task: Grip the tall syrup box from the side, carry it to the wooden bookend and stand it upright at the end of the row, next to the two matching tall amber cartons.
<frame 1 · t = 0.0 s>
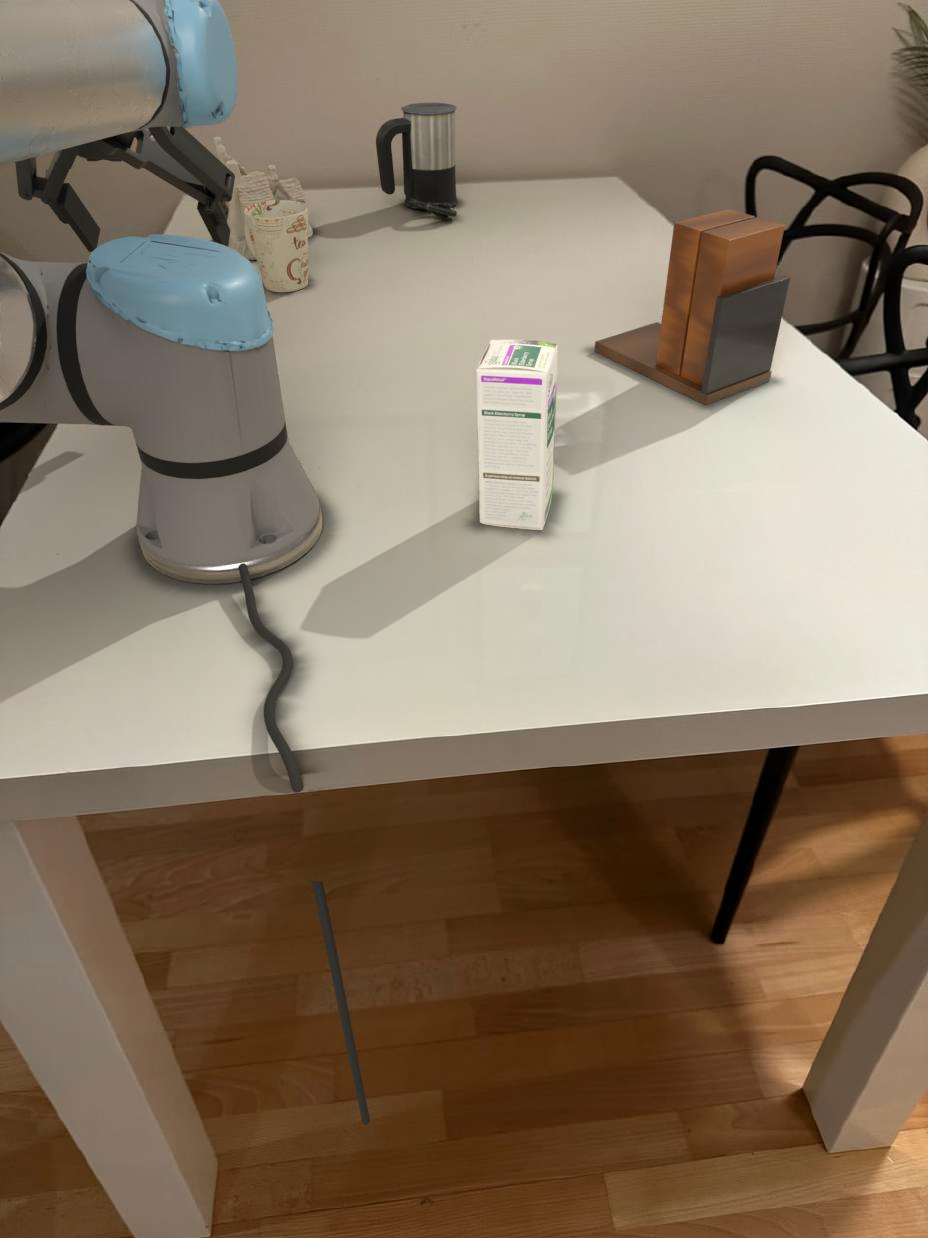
hand: (159, 241, 90), 15 cm above the table, tool tilted 35°, fingers open, 13 cm apart
syrup box: (515, 512, 79), on the table
wooden bookend: (676, 364, 102), on the table
milk frother: (433, 211, 152), on the table
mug: (277, 283, 125), on the table
ceramic cottage: (268, 242, 140), on the table
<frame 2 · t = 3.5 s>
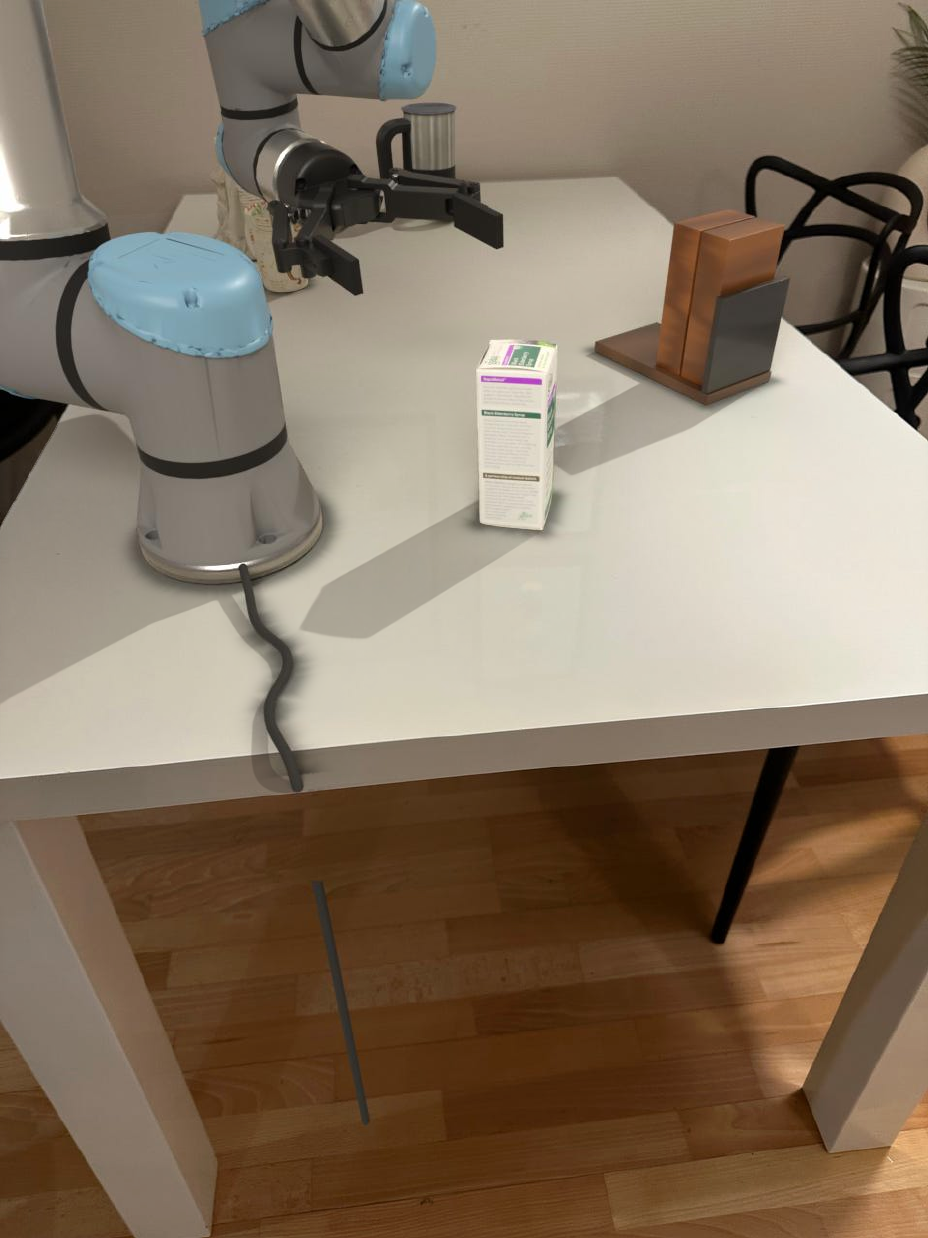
hand: (431, 254, 72), 20 cm above the table, tool horizontal, fingers open, 13 cm apart
nothing on the table moved.
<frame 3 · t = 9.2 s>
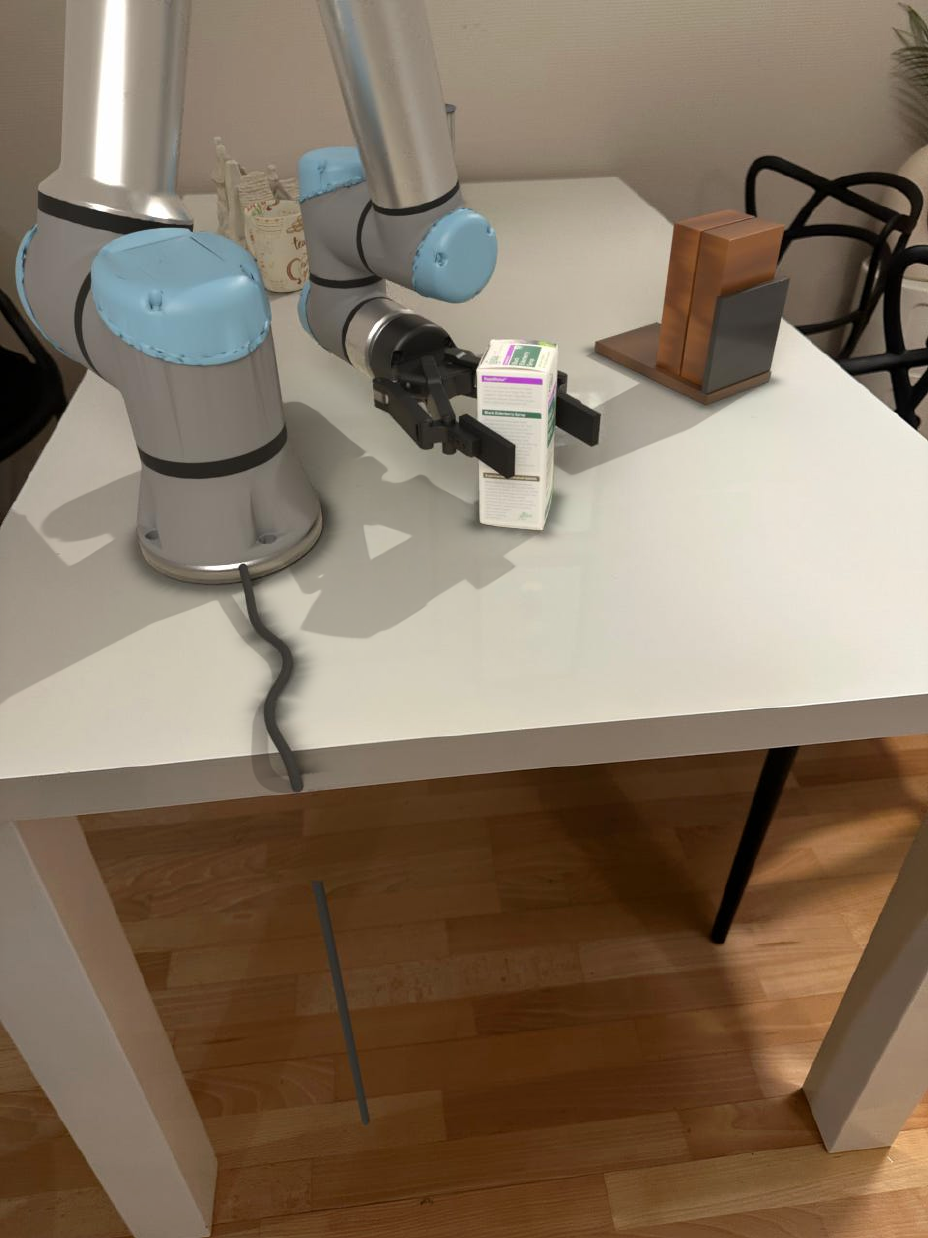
hand: (554, 445, 70), 9 cm above the table, tool horizontal, fingers closed on syrup box, 8 cm apart
syrup box: (515, 512, 79), on the table, touching gripper
everything else where it was.
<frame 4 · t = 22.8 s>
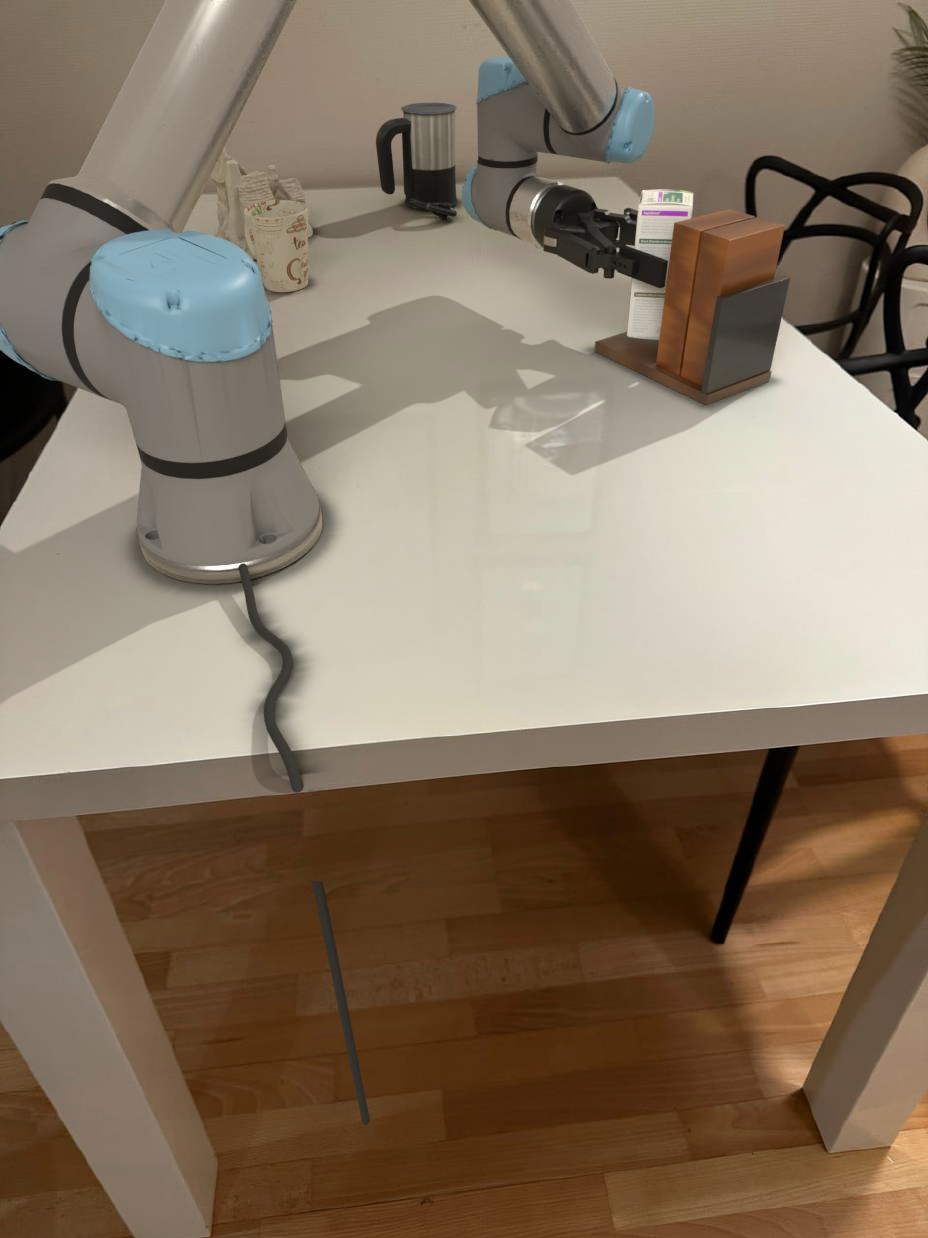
hand: (692, 265, 95), 11 cm above the table, tool horizontal, fingers closed on syrup box, 8 cm apart
syrup box: (651, 331, 103), point 2 cm above the table, touching gripper
everything else where it was.
when the fingers open (11 cm above the table, at t = 23.5 s): syrup box drops 1 cm, resting on wooden bookend.
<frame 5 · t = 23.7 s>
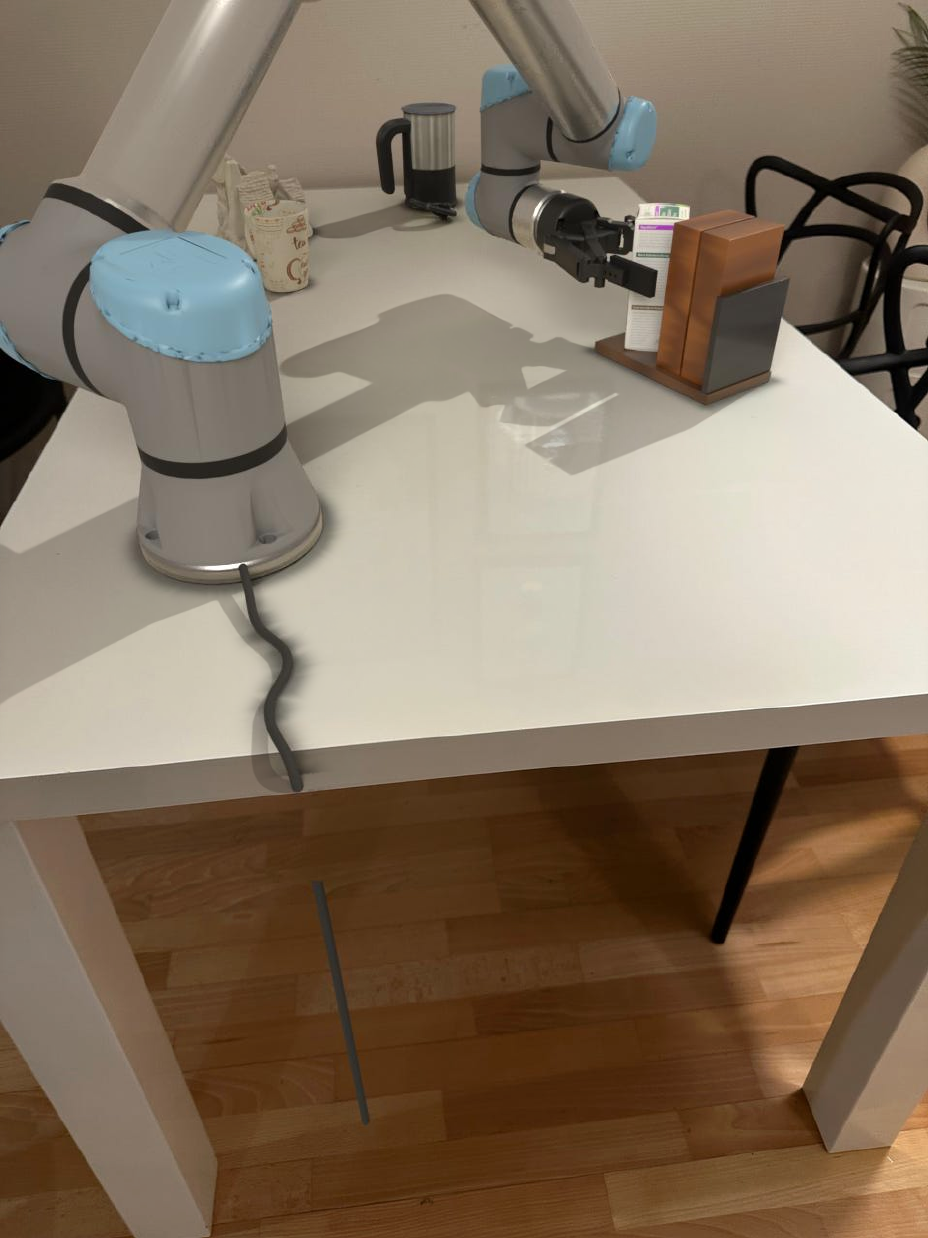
hand: (690, 273, 95), 10 cm above the table, tool horizontal, fingers open, 10 cm apart
syrup box: (648, 343, 104), point 1 cm above the table, touching wooden bookend
everything else where it was.
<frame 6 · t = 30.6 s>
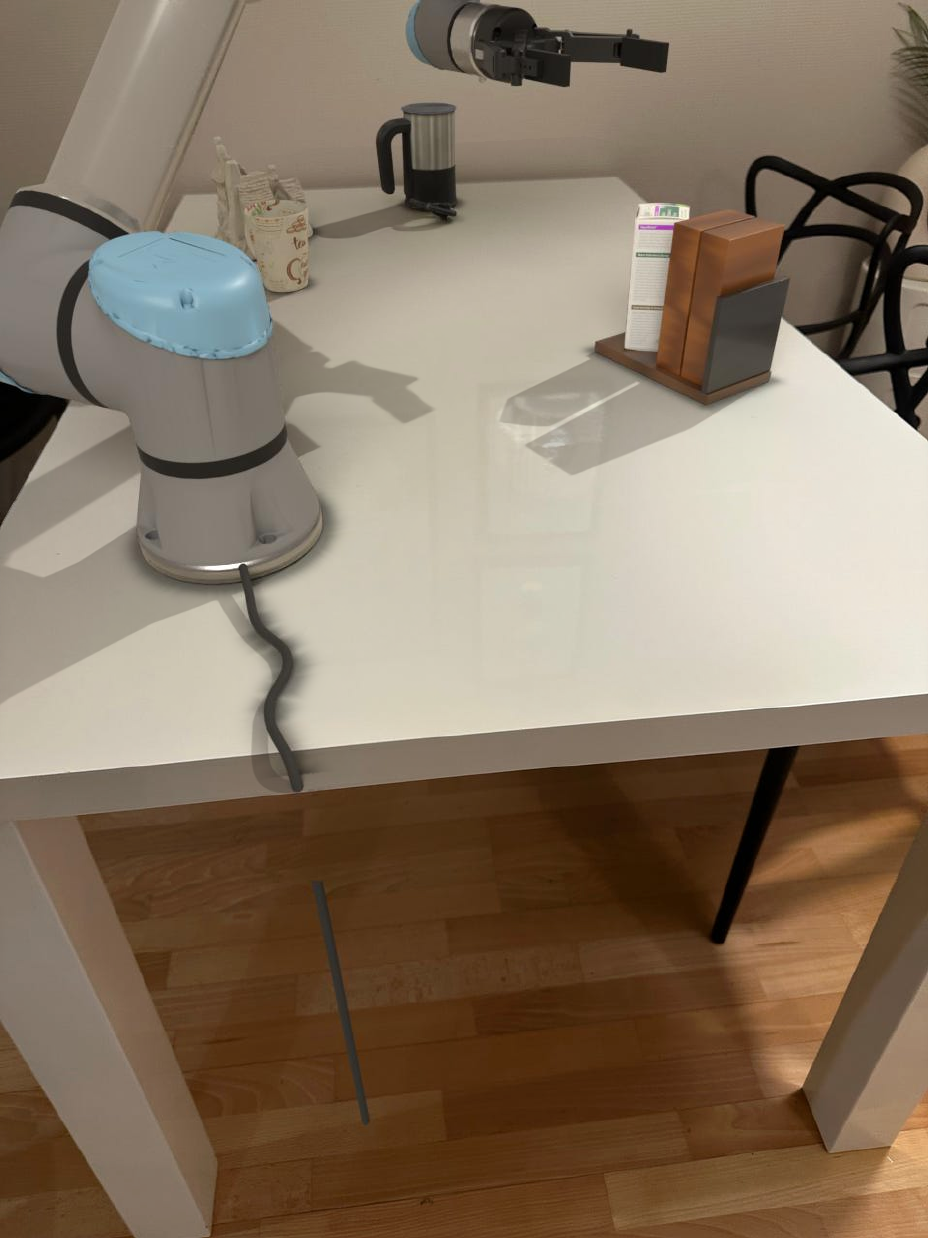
hand: (618, 64, 93), 28 cm above the table, tool horizontal, fingers open, 13 cm apart
nothing on the table moved.
at the end: syrup box inside the target area on the wooden bookend (0.6 cm from its centre), point 1.0 cm above the wooden bookend's base; syrup box tilted 0°; the gripper is holding nothing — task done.
